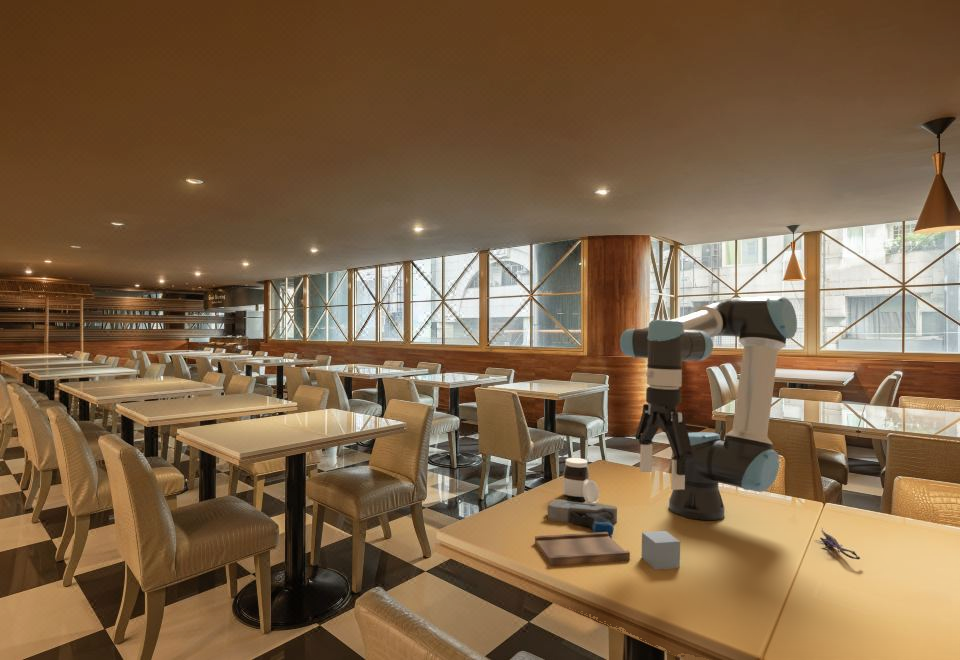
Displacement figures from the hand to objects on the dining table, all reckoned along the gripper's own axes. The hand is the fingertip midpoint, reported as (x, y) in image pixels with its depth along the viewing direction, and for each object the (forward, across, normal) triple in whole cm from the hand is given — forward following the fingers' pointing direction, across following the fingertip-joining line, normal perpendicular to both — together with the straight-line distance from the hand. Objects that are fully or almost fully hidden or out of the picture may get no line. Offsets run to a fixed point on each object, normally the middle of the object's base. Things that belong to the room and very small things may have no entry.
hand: (660, 480), depth 116 cm
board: (+19, -8, -16) cm, 26 cm away
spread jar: (+19, -44, -1) cm, 48 cm away
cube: (+19, 0, 0) cm, 19 cm away
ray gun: (+19, -24, -9) cm, 32 cm away
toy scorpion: (+19, +1, +46) cm, 50 cm away
